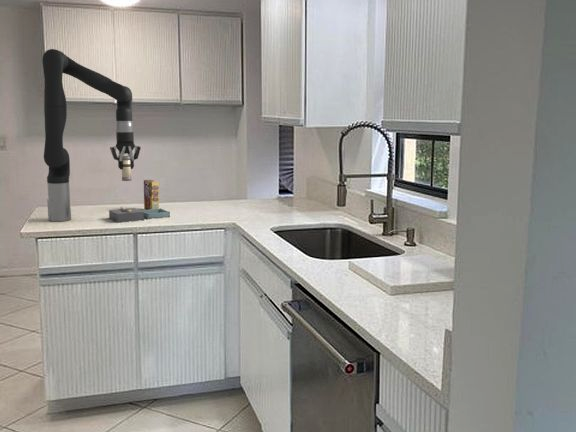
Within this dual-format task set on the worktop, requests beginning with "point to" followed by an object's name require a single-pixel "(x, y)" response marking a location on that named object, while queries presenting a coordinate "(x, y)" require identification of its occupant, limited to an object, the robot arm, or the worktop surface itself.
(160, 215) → the tray
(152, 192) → the candy box
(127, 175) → the fuse
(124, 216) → the fuse block
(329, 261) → the worktop surface
